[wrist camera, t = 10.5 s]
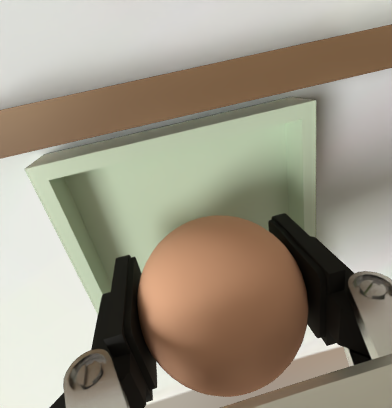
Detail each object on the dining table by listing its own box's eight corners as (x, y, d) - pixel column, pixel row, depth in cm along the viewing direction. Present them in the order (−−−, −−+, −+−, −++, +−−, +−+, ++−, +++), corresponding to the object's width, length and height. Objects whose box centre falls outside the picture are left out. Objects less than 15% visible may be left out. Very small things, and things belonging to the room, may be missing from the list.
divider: (-42, 119, 10) (-138, 140, 7) (340, 36, 12) (427, 16, 8) (-25, 149, 11) (-106, 182, 7) (338, 66, 12) (420, 61, 9)
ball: (120, 211, 11) (99, 334, 6) (258, 176, 12) (359, 259, 6) (157, 313, 14) (166, 463, 8) (269, 281, 14) (345, 404, 9)
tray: (43, 154, 12) (24, 169, 10) (289, 97, 12) (316, 99, 10) (124, 330, 16) (122, 362, 15) (296, 280, 17) (315, 305, 15)
